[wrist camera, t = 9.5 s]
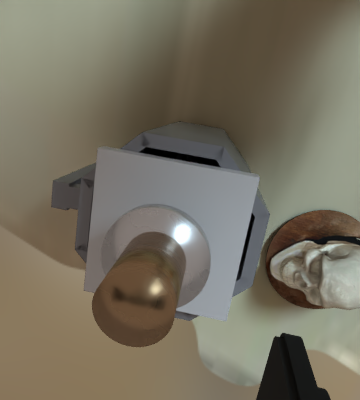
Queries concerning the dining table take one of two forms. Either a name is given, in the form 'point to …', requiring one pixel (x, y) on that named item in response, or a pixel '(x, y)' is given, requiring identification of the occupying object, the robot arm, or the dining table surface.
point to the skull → (317, 260)
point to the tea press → (174, 204)
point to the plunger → (150, 269)
